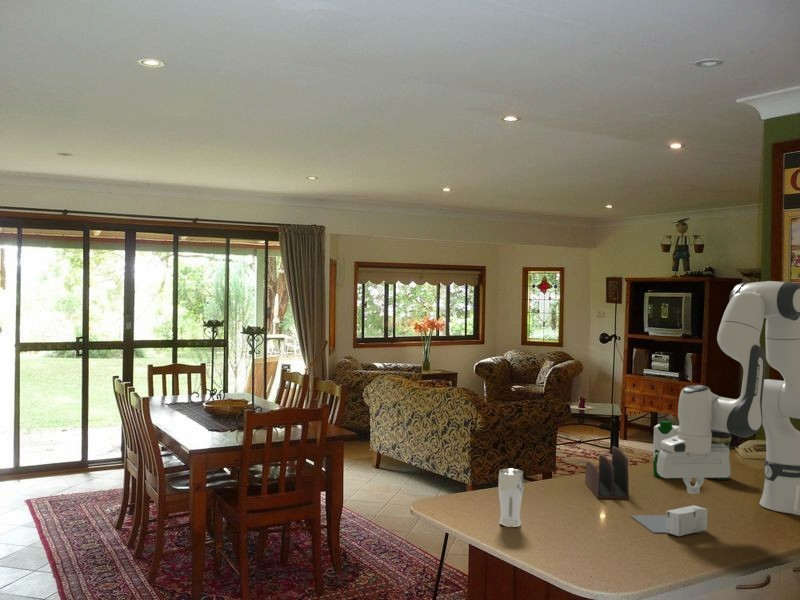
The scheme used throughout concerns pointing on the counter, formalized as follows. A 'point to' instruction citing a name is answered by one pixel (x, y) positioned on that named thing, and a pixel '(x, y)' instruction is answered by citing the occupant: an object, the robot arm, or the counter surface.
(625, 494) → the letter holder
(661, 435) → the milk carton
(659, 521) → the slate mat
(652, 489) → the counter surface
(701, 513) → the skincare box
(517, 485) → the beer glass
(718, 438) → the coffee jar
